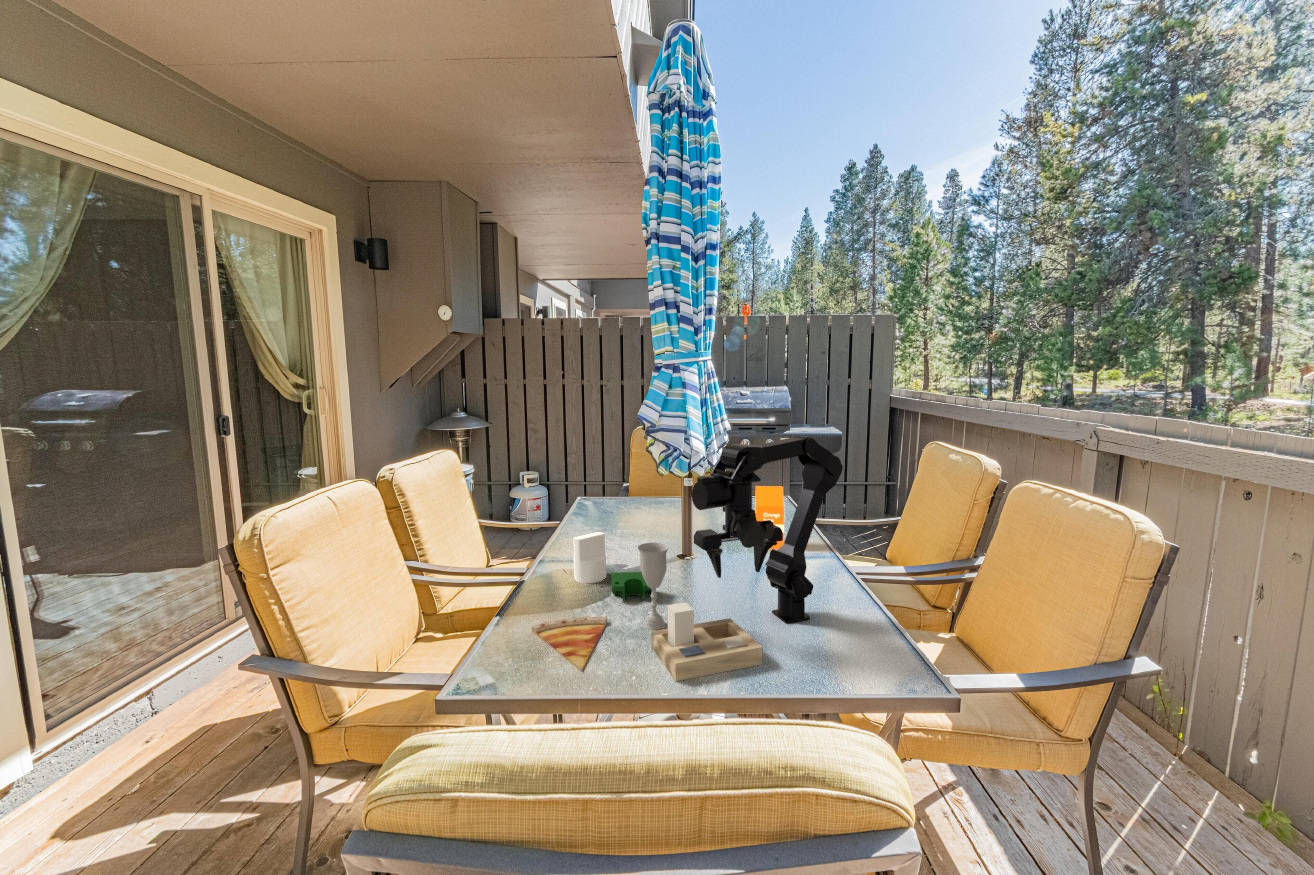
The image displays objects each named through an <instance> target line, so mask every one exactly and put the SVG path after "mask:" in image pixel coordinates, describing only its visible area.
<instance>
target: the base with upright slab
mask: <svg viewBox="0 0 1314 875" xmlns="http://www.w3.org/2000/svg"><path fill="white" fill-rule="evenodd" d="M605 536H606V534H605V532H602V531H595V532H591V533H586V534H583V535H578V536H575V537H573V540H572V543H573V544H572V545H573V558H572V559H573V578H574V579H575V580H576V581H575V580H574V579H573V580H574V581H575V582H576V583H577V582H578V583H581V584H595V583H596V582H597V583H600V582H603V581H604V580H603V579H605V578H607V556H606V555H607V554H606V538H605ZM602 580H603V581H602ZM605 580H606V579H605ZM599 581H600V582H599Z"/></svg>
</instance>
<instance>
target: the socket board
mask: <svg viewBox="0 0 1314 875" xmlns="http://www.w3.org/2000/svg"><path fill="white" fill-rule="evenodd" d="M650 633H651V634H650V635H651V636H650V637H651V649H652V650H653V652H654V653H655V654H656V656H657V657H658V659H659V660H660V661H661V663H662V665H663V666H664V667H665V668H666V670H667V671H668V673H669V674H670V676H671V677H672V679H673V680H674V681H675V682H680V681H685V680H691V679H696V678H699V677H705V676H709V675H715V674H719V673H720V674H721V673H725V672H729V671H734V670H735V671H736V670H739V669H744V668H749V667H755V666H759V665H760V666H761V665H763V646H762V645H761V644H760V643H758V642H757V640H755V639H754V638H753V637H752V636H751V635H750V634H748V632H746V631H745V629H743V628H742V627H741V626H739V624H737V623H736V622H735V621H734V620H733V619H732V618H730V617H729V618H723V619H718V620H710V621H705V622H700V623H694V644H689V645H683V646H677V647H671V646H670V645H669V643H668V628H662V629H658V630H651V632H650Z"/></svg>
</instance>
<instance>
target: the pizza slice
mask: <svg viewBox="0 0 1314 875" xmlns="http://www.w3.org/2000/svg"><path fill="white" fill-rule="evenodd" d="M607 623H608V617H607V616H585V617H584V616H583V617H571V618H564V619H558V620H551V621H548V622H542V623H538V624H535V625H532V627H531V632H532V633H533V634H534V635H535V636H537V637H538V638H539V639H540V638H541V639H540V640H542V642H545V644H547V645H548V646H549V647H551V649H553V650H554V651H555V652H556V653H557V654H559V656H562V658H564V659H565V660H566V661H568V662H569V663H570V664H571V665H573V667H575V668H576V669H578V670H579V671H580V672H583V671H584V668H585V667H586V664H587V663H588V661H589V658H590V657H591V654H592V653H593V651H594V649H595V648H596V646H597V643H598V641H599V639H600V637H601V635H602V633H603V632H604V629H605V628H606V626H607Z"/></svg>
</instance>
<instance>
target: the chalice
mask: <svg viewBox="0 0 1314 875" xmlns="http://www.w3.org/2000/svg"><path fill="white" fill-rule="evenodd" d="M637 550H638V551H639V559H640V560H639V561H640V564H639V566H640V567H639V568H640V569H639V570H640V572H642V575H643V578H644V580H645V582H646V584H647V586H648V587H649V588H651V589H652V594H650V598H651V602H650V607H651V611H650V612H649V613H648V614H647V615H646V617H645V619H644V622H643V624H642V626H643V628H645V629H647V630H651V631H657V630H663V629H665V627H666V623H665V620H664V619H663V616H662V614H661V613H660V612H658V611H657V606H658V605H659V603H658V602H657V599H658V594H657V589H658V588H660V587H661V585H662V583H663V580H664V578H665V577H666V576H665V575H666V573H667V568H668V566H667V552H668V550H669V546H668V545H667V544H665V543H662V542H645V543H640V544H639V545H638V546H637Z"/></svg>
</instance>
